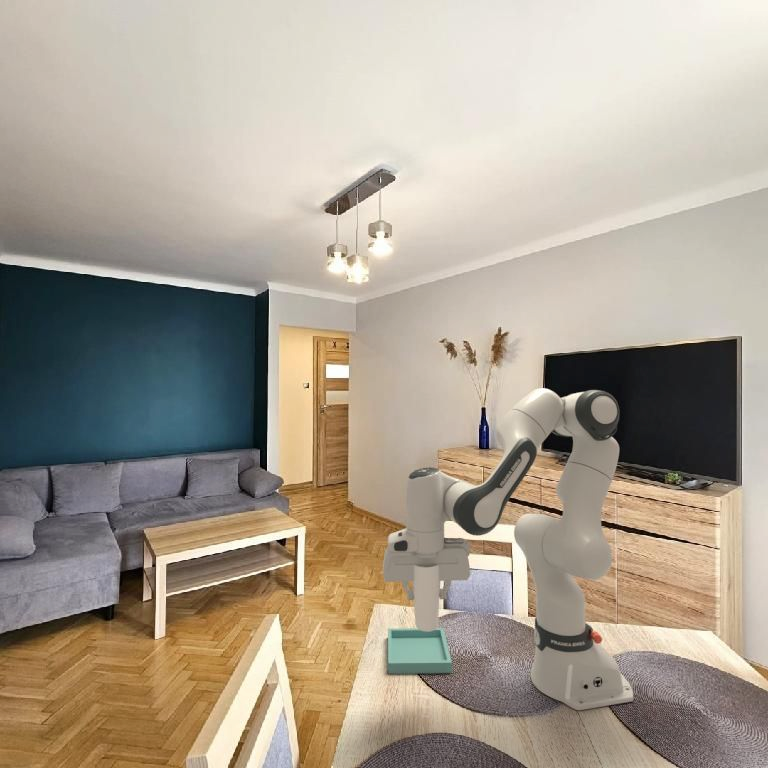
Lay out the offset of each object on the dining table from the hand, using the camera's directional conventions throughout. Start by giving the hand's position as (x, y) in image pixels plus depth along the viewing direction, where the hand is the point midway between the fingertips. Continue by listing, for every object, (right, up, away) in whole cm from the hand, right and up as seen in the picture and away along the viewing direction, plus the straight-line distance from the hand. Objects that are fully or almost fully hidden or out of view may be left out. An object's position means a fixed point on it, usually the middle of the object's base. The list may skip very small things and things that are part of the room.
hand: (426, 598), depth 101 cm
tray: (-1, -23, +16) cm, 28 cm away
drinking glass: (0, -7, 0) cm, 7 cm away
